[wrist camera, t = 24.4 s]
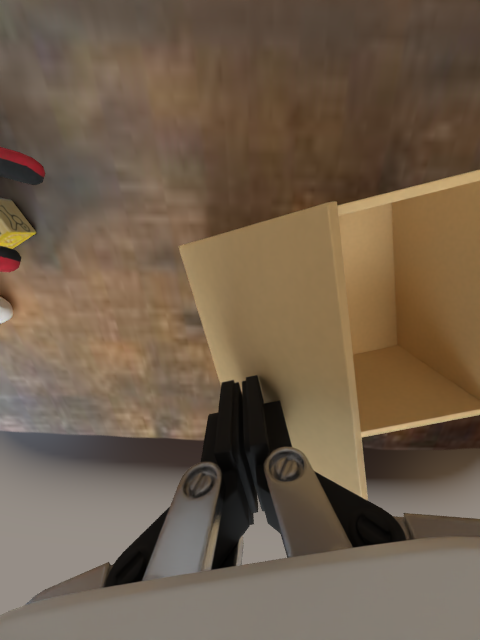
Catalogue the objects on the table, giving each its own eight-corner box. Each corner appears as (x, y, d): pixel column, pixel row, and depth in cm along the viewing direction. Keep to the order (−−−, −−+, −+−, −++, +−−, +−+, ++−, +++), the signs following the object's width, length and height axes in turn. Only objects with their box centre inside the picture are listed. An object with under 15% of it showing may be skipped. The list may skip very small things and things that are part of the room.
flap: (250, 465, 17) (245, 469, 17) (185, 244, 13) (177, 246, 12) (376, 577, 11) (371, 585, 10) (337, 200, 6) (328, 202, 6)
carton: (243, 379, 28) (255, 640, 10) (206, 241, 23) (99, 255, 5) (408, 344, 26) (763, 566, 9) (404, 191, 22) (1159, -16, 4)
